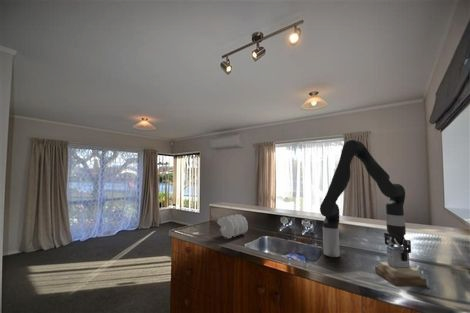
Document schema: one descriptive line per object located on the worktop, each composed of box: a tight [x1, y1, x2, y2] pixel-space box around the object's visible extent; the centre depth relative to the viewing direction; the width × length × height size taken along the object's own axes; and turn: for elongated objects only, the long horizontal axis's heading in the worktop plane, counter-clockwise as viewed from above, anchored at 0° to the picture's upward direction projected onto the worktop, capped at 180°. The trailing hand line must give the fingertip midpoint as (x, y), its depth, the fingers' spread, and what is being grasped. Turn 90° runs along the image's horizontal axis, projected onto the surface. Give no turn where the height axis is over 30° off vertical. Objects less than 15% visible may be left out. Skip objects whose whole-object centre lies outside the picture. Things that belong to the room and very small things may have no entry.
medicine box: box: [386, 246, 411, 268], centre depth 103 cm, size 8×4×9 cm, turn 91°
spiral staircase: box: [216, 213, 249, 239], centre depth 175 cm, size 18×18×25 cm
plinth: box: [374, 261, 428, 287], centre depth 103 cm, size 14×14×6 cm
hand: (397, 257), depth 103 cm, fingers open, 7 cm apart
